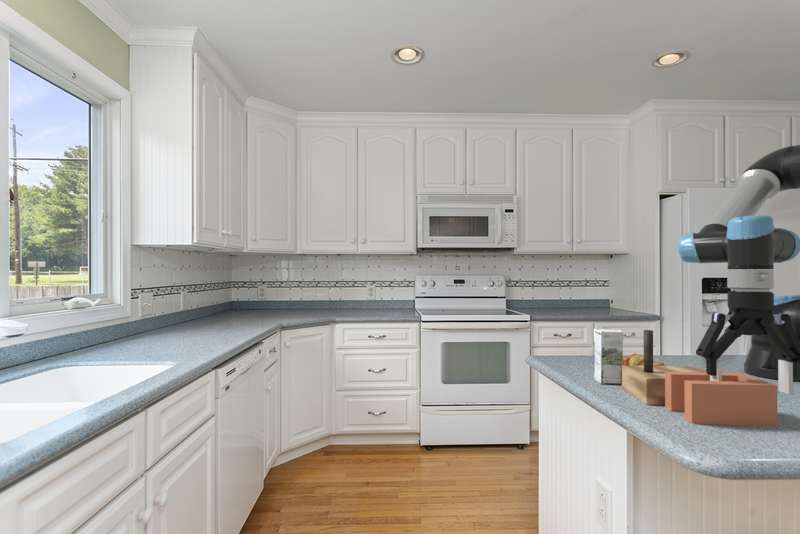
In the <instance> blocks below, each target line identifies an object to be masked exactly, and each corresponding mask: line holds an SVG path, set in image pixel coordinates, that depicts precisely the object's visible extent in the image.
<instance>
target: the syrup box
mask: <svg viewBox="0 0 800 534" xmlns="http://www.w3.org/2000/svg"><path fill="white" fill-rule="evenodd" d="M623 357H624V332H623V331H622V330H620V329H618V328H614V327H613V328H612V327H611V328H601V327H599V328H596V327H595V328H593V379H594V380H595V381H596V382H598V383H599V384H601V385H622V365H623Z"/></svg>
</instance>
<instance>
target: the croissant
mask: <svg viewBox="0 0 800 534" xmlns="http://www.w3.org/2000/svg"><path fill="white" fill-rule="evenodd" d="M623 365H625V366H644V354H643V355H642V354H641V353H635V352H634V353H633V354H631V355H630V356H629V357H627V356H623ZM653 366H666V365H665V363H663V362H660V361H654V360H653Z"/></svg>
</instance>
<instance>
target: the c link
mask: <svg viewBox="0 0 800 534" xmlns="http://www.w3.org/2000/svg"><path fill="white" fill-rule="evenodd" d="M665 407H666V409H667V408H668V409H667V410H669V411H670V410H671V411H670V412H684V420H685V419H686V420H685V421H687V422H688V421H689V422H688V423H690V424H692V423H695V425H699V424H700V425H723V426H724V425H725V426H726V425H729V426H730V425H731V426H733V425H734V426H759V427H760V426H762V427H764V426H765V427H766V426H767V427H778V385H776V384H775V383H771V382H768V381H766V380H762V379H760V378H757V377H754V376H751V375H750V374H749V375H748V374H745V373H743V372H722V381H710V375H708V374H707V372H665V405H664V408H665Z"/></svg>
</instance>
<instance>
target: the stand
mask: <svg viewBox="0 0 800 534" xmlns="http://www.w3.org/2000/svg"><path fill="white" fill-rule="evenodd" d="M643 356H644V366H625V365H622V384H621V389H622V390H623V391H625V392H626V393H627V394H629V395H631V396H633V397H634V398H635V399H637V400H638V401H640V402H642V403H643V404H644V405H646V406H647V405H648V406H653V405H654V406H665V372H706V369H703V368H700V367H697V366H681V365H680V366H678V365H677V366H675V365H674V366H673V365H669V366H668V365H667V366H666V365H665V366H653V361H654V330H651V329H644V330H643Z"/></svg>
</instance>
